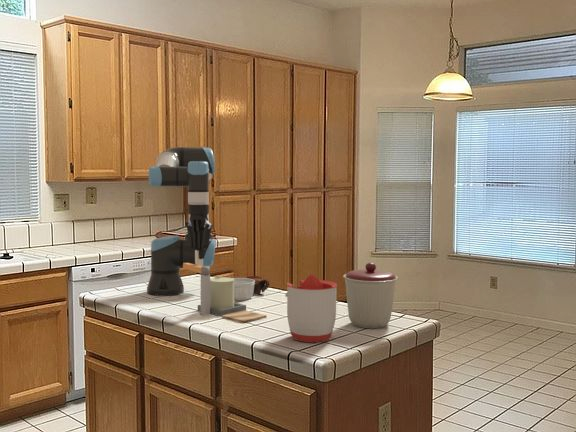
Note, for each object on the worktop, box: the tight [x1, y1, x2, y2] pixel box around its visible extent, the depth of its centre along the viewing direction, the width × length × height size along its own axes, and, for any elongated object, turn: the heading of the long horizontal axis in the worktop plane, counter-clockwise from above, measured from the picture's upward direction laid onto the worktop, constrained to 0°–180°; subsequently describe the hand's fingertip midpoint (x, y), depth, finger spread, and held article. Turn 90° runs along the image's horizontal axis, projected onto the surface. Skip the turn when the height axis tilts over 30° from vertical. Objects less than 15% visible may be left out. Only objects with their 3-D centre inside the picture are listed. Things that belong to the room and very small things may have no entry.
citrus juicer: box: [285, 273, 338, 344], centre depth 190 cm, size 16×17×20 cm
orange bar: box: [182, 263, 211, 275], centre depth 223 cm, size 3×16×2 cm, turn 37°
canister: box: [342, 262, 399, 329], centre depth 206 cm, size 18×18×21 cm
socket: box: [197, 274, 247, 317], centre depth 223 cm, size 12×15×14 cm
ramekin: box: [232, 277, 255, 301], centre depth 248 cm, size 13×13×7 cm
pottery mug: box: [246, 275, 270, 296], centre depth 257 cm, size 12×10×8 cm
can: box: [210, 276, 235, 310], centre depth 225 cm, size 9×9×12 cm
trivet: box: [221, 310, 267, 324], centre depth 215 cm, size 11×11×1 cm
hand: (199, 267), depth 227 cm, fingers closed
